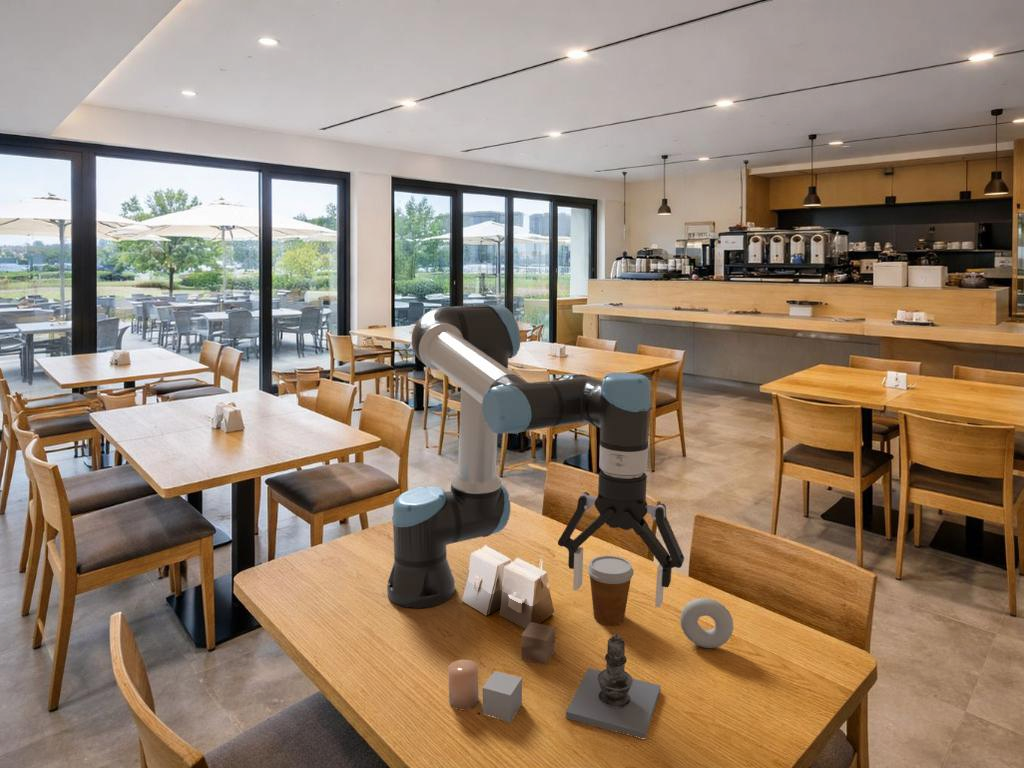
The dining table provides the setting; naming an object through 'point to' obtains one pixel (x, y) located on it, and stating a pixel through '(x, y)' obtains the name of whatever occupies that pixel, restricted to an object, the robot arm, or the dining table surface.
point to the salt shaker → (615, 676)
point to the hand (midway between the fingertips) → (617, 595)
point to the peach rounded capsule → (463, 684)
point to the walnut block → (538, 643)
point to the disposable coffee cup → (610, 588)
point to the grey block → (502, 696)
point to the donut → (713, 610)
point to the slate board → (617, 719)
